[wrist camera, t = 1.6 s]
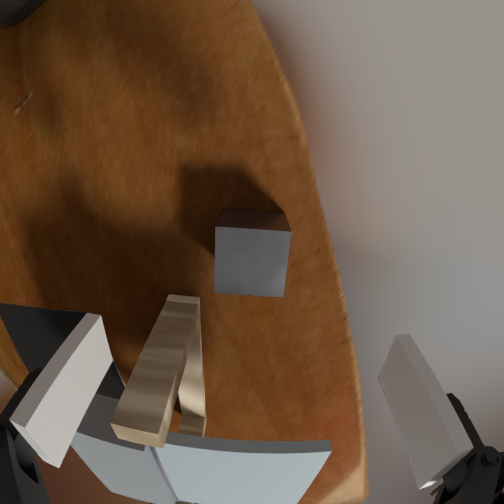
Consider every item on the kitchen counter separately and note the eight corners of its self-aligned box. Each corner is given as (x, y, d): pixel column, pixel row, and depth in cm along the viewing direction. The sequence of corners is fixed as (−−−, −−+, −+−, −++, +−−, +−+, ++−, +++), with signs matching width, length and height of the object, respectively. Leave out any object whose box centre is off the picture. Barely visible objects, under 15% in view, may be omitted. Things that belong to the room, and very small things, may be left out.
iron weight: (223, 208, 24) (215, 226, 19) (284, 212, 24) (291, 231, 19) (222, 263, 26) (214, 292, 21) (278, 267, 26) (283, 297, 21)
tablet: (155, 445, 38) (62, 422, 39) (156, 441, 39) (63, 420, 39) (95, 313, 28) (-5, 302, 29) (98, 309, 29) (-3, 300, 29)
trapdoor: (121, 467, 23) (113, 493, 20) (72, 380, 17) (51, 417, 14) (291, 486, 24) (293, 516, 20) (328, 411, 18) (337, 457, 14)
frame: (169, 294, 27) (109, 422, 13) (199, 297, 27) (157, 433, 13) (184, 416, 34) (165, 511, 21) (206, 419, 34) (192, 516, 21)
